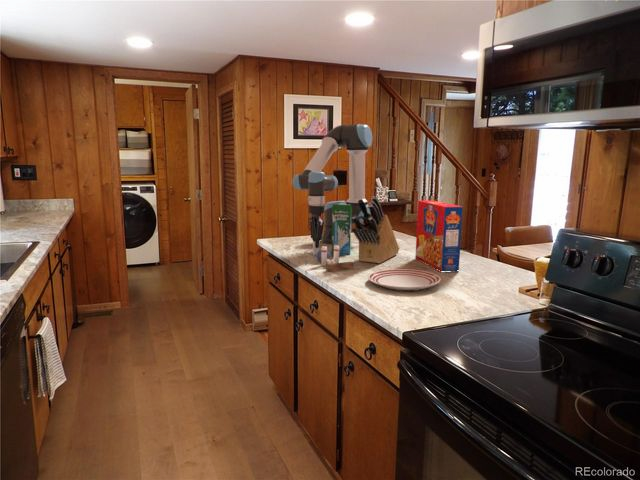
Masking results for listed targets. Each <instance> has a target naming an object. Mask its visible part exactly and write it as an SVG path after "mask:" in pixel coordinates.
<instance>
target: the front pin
mask: <svg viewBox="0 0 640 480" xmlns="http://www.w3.org/2000/svg"><path fill="white" fill-rule="evenodd" d="M331 263H335V262H334V260H330V258H329V259H327V264H331Z"/></svg>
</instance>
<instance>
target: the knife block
mask: <svg viewBox="0 0 640 480" xmlns="http://www.w3.org/2000/svg"><path fill="white" fill-rule="evenodd" d="M358 204H359V207H360V209H361V211H362V212H363V214H364V217H363V216H359V217H358V218H357V217H356V216H353V217H352V219H353V220H354V222H355V225H354V226H355V227H356V228H351V233H353V234H354V237H356V239H357V241H358V261H359V262H361V263H363V262H367V263H377V264H382V263H383V262H385V261H387V260H388V259H390V258H392V257H394V256H396V255H398V254H399V251H400V247H399V244H398V241H397V237H396V236H395V233H394V230H393V227H392V225H391V222H390V220H389V217H388V215H387V214H384V212H383V209H382V205H381V203H380V201H379V200H378V198H377V197H376V196H375V195H374V196H371V197H370V201H369V202H368V208H369V209H370V213H371V214H369V213H368V212H367V208H366V205H365V203H364V202H363V200H359V201H358ZM359 218H362V219H363V221H362V223H360V221H359Z"/></svg>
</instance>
